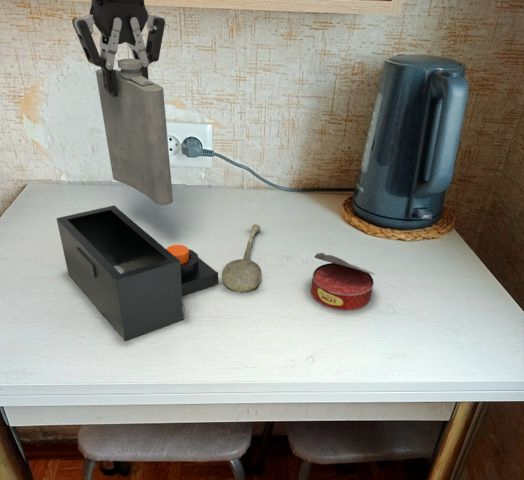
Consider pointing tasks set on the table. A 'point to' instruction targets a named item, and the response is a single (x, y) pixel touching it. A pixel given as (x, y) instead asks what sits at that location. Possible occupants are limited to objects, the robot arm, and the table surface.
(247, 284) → the soupspoon
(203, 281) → the control panel
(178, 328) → the table surface
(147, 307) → the black storage bin
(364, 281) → the canned food
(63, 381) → the table surface
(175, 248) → the button
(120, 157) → the hip flask
